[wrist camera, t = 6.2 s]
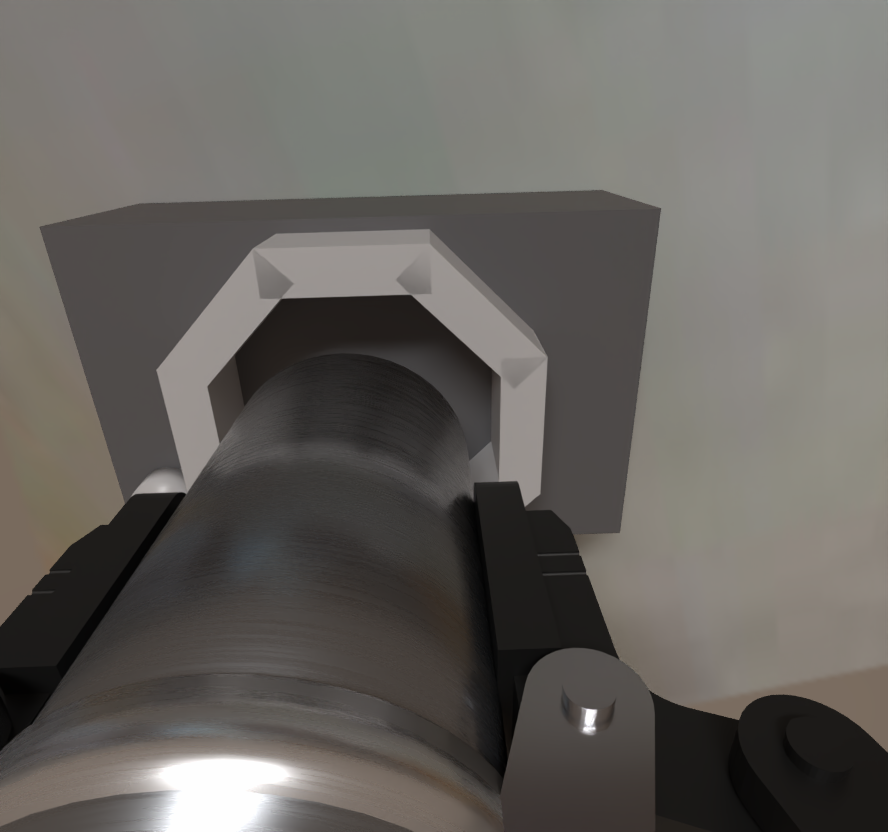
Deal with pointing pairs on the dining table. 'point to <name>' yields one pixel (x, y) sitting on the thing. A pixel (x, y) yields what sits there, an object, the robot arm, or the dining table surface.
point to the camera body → (372, 324)
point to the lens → (290, 636)
